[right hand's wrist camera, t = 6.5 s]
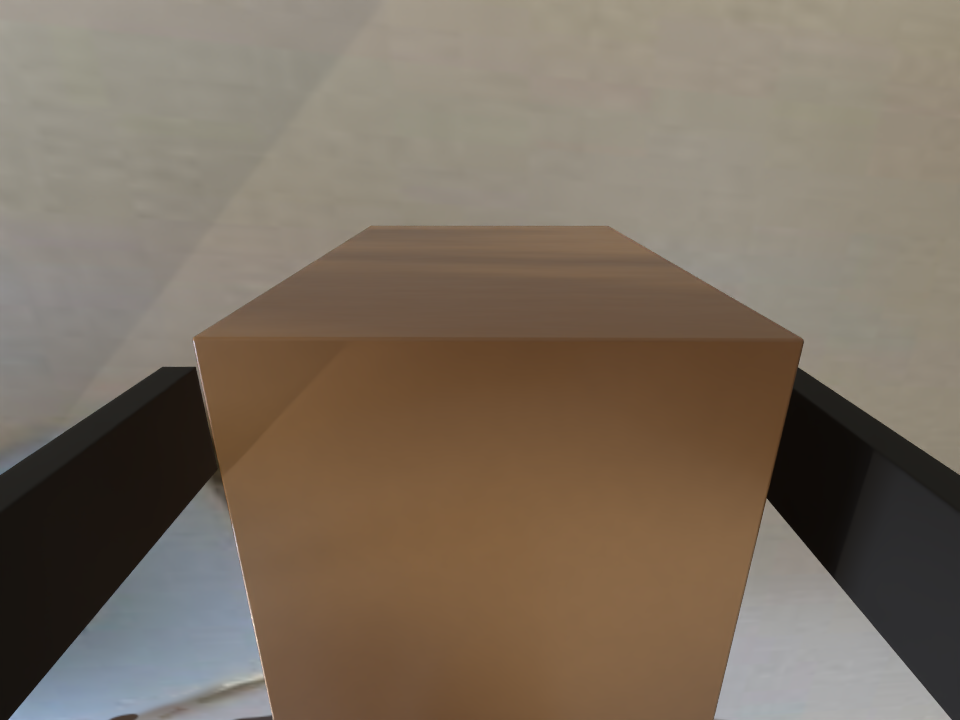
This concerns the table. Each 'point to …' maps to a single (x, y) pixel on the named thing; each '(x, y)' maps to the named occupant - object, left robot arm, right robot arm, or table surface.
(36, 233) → the table surface
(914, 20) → the table surface
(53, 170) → the table surface
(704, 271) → the table surface
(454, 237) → the box
